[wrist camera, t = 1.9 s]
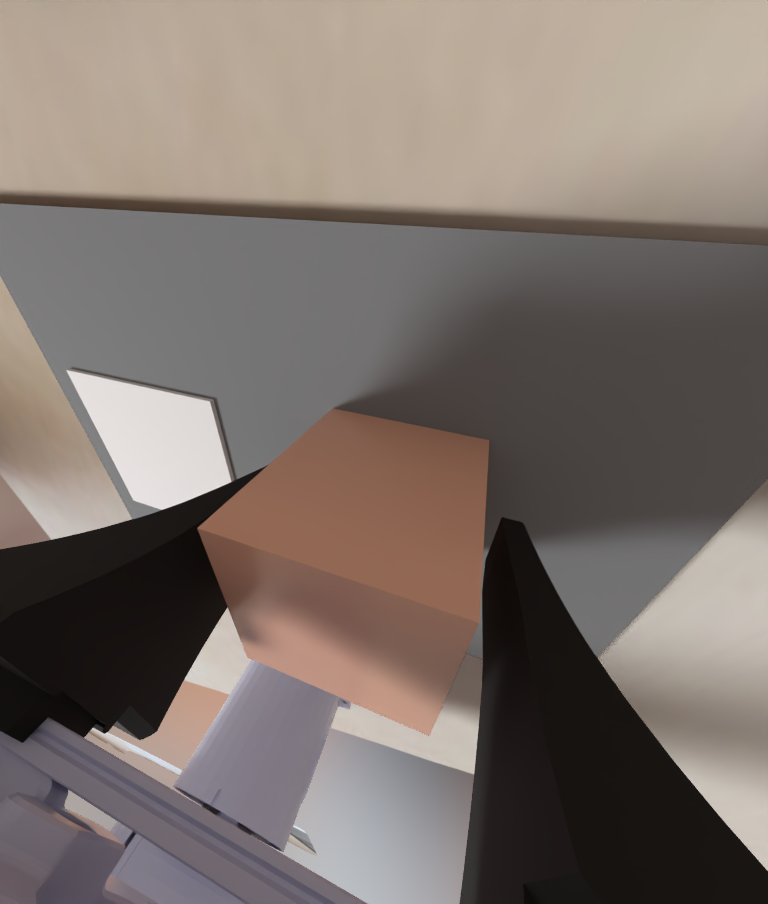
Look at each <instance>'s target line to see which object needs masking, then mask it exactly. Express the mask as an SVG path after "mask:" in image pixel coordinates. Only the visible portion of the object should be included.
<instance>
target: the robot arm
mask: <svg viewBox="0 0 768 904" xmlns="http://www.w3.org/2000/svg"><path fill="white" fill-rule="evenodd" d="M267 466H268V465H267ZM267 466H265V467H263V468H260V469H258V470H256V471H254V472H252V473H250V474H248V475H245V476H243V477H241V478H239V479H237V480H234V481H232V482H230V483H228V484H226V485H223V486H221V487H219V488H217V489H214V490H212V491H209V492H207V493H205V494H202V495H200V496H197V497H195V498H193V499H190V500H188V501H185V502H183V503H180V504H177V505H175V506H172V507H169V508H166V509H163V510H160V511H157V512H155V513H152V514H149V515H145V516H142V517H139V518H136V519H132V520H129V521H125V522H122V523H118V524H115V525H111V526H108V527H104V528H100V529H97V530H92V531H88V532H84V533H80V534H76V535H72V536H67V537H63V538H58V539H54V540H49V541H44V542H39V543H34V544H28V545H23V546H18V547H12V548H6V549H1V550H0V904H367V903H365V902H364V901H362V900H360V899H359V898H357V897H355V896H353V895H351V894H350V893H348V892H346V891H345V890H343V889H341V888H340V887H338V886H336V885H335V884H333V883H331V882H329V881H328V880H326V879H324V878H323V877H321V876H319V875H317V874H316V873H314V872H312V871H311V870H309V869H307V868H305V867H304V866H302V865H300V864H299V863H297V862H295V861H294V860H292V859H290V858H288V857H287V856H285V855H283V854H281V853H280V852H278V851H276V850H275V849H277V850H279V851H282V852H284V849H285V846H286V844H287V841H288V838H289V835H290V833H291V830H292V827H293V824H294V822H295V819H296V816H297V813H298V811H299V808H300V806H301V804H302V802H303V800H304V798H305V796H306V793H307V791H308V788H309V785H310V783H311V780H312V777H313V774H314V771H315V768H316V766H317V763H318V760H319V758H320V755H321V752H322V749H323V747H324V744H325V741H326V738H327V736H328V733H329V730H330V727H331V724H332V722H333V719H334V716H335V713H336V711H337V708H338V706H339V707H342V708H344V709H347V710H348V709H350V706H351V702H350V701H347V700H345V699H343V698H340V697H338V696H336V695H333V694H331V693H329V692H326V691H324V690H322V689H320V688H317V687H315V686H313V685H310V684H308V683H306V682H303V681H301V680H299V679H296V678H294V677H292V676H289V675H287V674H285V673H282V672H280V671H278V670H276V669H273V668H271V667H269V666H266V665H264V664H262V663H259V662H257V661H255V660H251V661H250V663H249V665H248V666H247V668H246V669H245V671H244V673H243V674H242V676H241V678H240V679H239V681H238V682H237V684H236V686H235V687H234V689H233V690H232V692H231V694H230V695H229V697H228V699H227V700H226V702H225V703H224V705H223V707H222V708H221V710H220V712H219V713H218V715H217V716H216V718H215V720H214V721H213V723H212V724H211V726H210V728H209V729H208V731H207V732H206V734H205V736H204V737H203V739H202V740H201V742H200V744H199V745H198V747H197V748H196V750H195V752H194V753H193V755H192V756H191V758H190V760H189V761H188V763H187V765H186V766H185V768H184V769H183V771H182V773H181V774H180V776H179V778H178V779H177V781H176V782H175V784H174V786H173V787H175V788H176V789H177V790H179V791H180V792H181V793H183V794H184V795H186V796H187V797H189V798H190V799H192V800H193V801H195V802H197V803H198V804H200V805H201V806H202V807H201V806H199V805H198V804H196V803H194V802H193V801H191V800H189V799H187V798H186V797H184V796H182V795H181V794H179V793H177V792H175V791H174V790H172V789H170V788H169V787H167V786H165V785H163V784H162V783H160V782H158V781H157V780H155V779H153V778H152V777H150V776H148V775H146V774H145V773H143V772H141V771H140V770H138V769H136V768H134V767H133V766H131V765H129V764H128V763H126V762H124V761H122V760H121V759H119V758H117V757H116V756H114V755H112V754H110V753H109V752H107V751H105V750H104V749H102V748H100V747H98V746H97V745H95V744H93V743H92V742H90V741H88V740H86V739H85V738H84V737H85V736H86V735H87V734H88V732H89V731H90V730H91V729H92V728H93V727H94V728H95V729H97V730H99V731H101V732H102V733H104V734H105V733H107V732H108V731H109V730H110V729H111V727H112V726H116V727H117V728H119V729H121V730H123V731H124V732H126V733H128V734H130V735H131V736H133V737H135V738H137V739H139V740H141V739H144V738H146V737H148V736H151V735H152V734H154V733H155V732H156V731H157V730H158V728H159V726H160V724H161V722H162V720H163V718H164V716H165V714H166V712H167V711H168V708H169V707H170V705H171V703H172V701H173V699H174V697H175V695H176V693H177V692H178V690H179V688H180V686H181V684H182V682H183V681H184V679H185V677H186V675H187V674H188V672H189V670H190V668H191V667H192V665H193V663H194V661H195V660H196V658H197V656H198V654H199V653H200V651H201V649H202V647H203V646H204V644H205V642H206V641H207V639H208V637H209V636H210V634H211V633H212V631H213V629H214V628H215V626H216V624H217V623H218V621H219V620H220V618H221V616H222V615H223V613H224V612H225V610H226V609H227V607H228V606H227V604H226V601H225V599H224V596H223V593H222V591H221V588H220V586H219V583H218V581H217V578H216V575H215V573H214V570H213V568H212V565H211V563H210V560H209V557H208V555H207V552H206V550H205V547H204V545H203V542H202V539H201V537H200V534H199V532H198V529H197V528H198V527H199V526H200V525H201V524H202V523H204V522H205V521H206V520H207V519H208V518H209V517H210V516H211V515H213V514H214V513H215V512H216V511H217V510H218V509H219V508H220V507H222V506H223V505H224V504H225V503H226V502H227V501H228V500H230V499H231V498H232V497H233V496H234V495H235V494H236V493H237V492H239V491H240V490H241V489H242V488H243V487H244V486H245V485H246V484H248V483H249V482H250V481H251V480H252V479H253V478H254V477H256V476H257V475H258V474H259V473H260V472H261V471H262V470H263V469H265V468H266V467H267ZM482 643H483V675H482V694H481V706H480V719H479V730H478V741H477V752H476V763H475V773H474V783H473V793H472V803H471V813H470V822H469V830H468V840H467V848H466V856H465V865H464V873H463V882H462V890H461V898H460V904H768V871H767V870H766V869H765V868H764V867H763V865H762V864H761V863H760V862H759V861H758V860H757V859H756V857H755V856H754V855H753V854H752V853H751V852H750V851H749V850H748V848H747V847H746V846H745V845H744V844H743V843H742V842H741V840H740V839H739V838H738V837H737V836H736V835H735V834H734V833H733V831H732V830H731V829H730V828H729V827H728V826H727V825H726V823H725V822H724V821H723V820H722V819H721V818H720V816H719V815H718V814H717V813H716V812H715V810H714V809H713V808H712V807H711V806H710V804H709V803H708V802H707V801H706V800H705V798H704V797H703V796H702V795H701V794H700V792H699V791H698V790H697V789H696V787H695V786H694V785H693V784H692V783H691V781H690V780H689V779H688V778H687V777H686V775H685V774H684V773H683V772H682V771H681V769H680V768H679V767H678V766H677V765H676V763H675V762H674V761H673V760H672V758H671V757H670V756H669V754H668V753H667V752H666V751H665V749H664V748H663V747H662V745H661V744H660V743H659V741H658V740H657V739H656V738H655V736H654V735H653V734H652V732H651V731H650V730H649V728H648V727H647V726H646V725H645V723H644V722H643V721H642V719H641V718H640V717H639V715H638V714H637V713H636V712H635V710H634V709H633V708H632V706H631V705H630V704H629V702H628V701H627V700H626V698H625V697H624V696H623V694H622V693H621V691H620V690H619V689H618V687H617V686H616V684H615V683H614V682H613V680H612V679H611V677H610V676H609V675H608V673H607V672H606V670H605V669H604V667H603V666H602V664H601V663H600V661H599V660H598V658H597V657H596V655H595V654H594V652H593V651H592V649H591V648H590V646H589V645H588V643H587V642H586V640H585V638H584V637H583V635H582V634H581V632H580V630H579V629H578V627H577V626H576V624H575V622H574V620H573V619H572V617H571V615H570V614H569V612H568V610H567V609H566V607H565V605H564V603H563V602H562V600H561V598H560V596H559V594H558V593H557V591H556V589H555V587H554V585H553V583H552V581H551V579H550V577H549V576H548V574H547V572H546V570H545V568H544V566H543V564H542V562H541V560H540V558H539V555H538V553H537V551H536V549H535V547H534V545H533V543H532V540H531V538H530V536H529V534H528V531H527V529H526V527H525V525H524V523H523V522H520V521H516V520H512V519H508V518H504V517H502V518H501V520H500V523H499V526H498V528H497V531H496V533H495V536H494V539H493V541H492V544H491V547H490V549H489V552H488V554H487V557H486V560H485V568H484V577H483V587H482ZM68 789H69V790H70V791H72V792H73V793H75V794H76V795H78V796H79V797H81V798H82V799H84V800H86V801H87V802H89V803H90V804H92V805H93V806H95V807H97V808H98V809H100V810H101V811H103V812H104V813H106V814H107V815H109V816H111V817H112V818H114V819H115V820H117V821H118V822H117V823H116V824H115V826H114V827H113V828H112V829H111V831H108V830H107V829H105V828H104V827H102V826H100V825H99V824H97V823H95V822H93V821H91V820H89V819H87V818H85V817H82V816H81V815H78V814H76V813H74V812H72V811H69V810H67V809H65V807H64V804H65V800H66V798H67V795H68ZM252 836H253V837H252ZM254 837H255V838H254ZM256 838H257V839H256ZM259 840H260V841H259ZM261 841H262V842H261ZM263 842H264V843H266V844H268V845H269V846H268V845H266V844H264V843H263ZM270 846H272V847H273V848H275V849H273V848H271V847H270Z"/></svg>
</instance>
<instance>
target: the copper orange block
mask: <svg viewBox="0 0 768 904" xmlns="http://www.w3.org/2000/svg"><path fill="white" fill-rule="evenodd" d="M488 456H489V440H486V439H481V438H476V437H471V436H466V435H461V434H457V433H452V432H447V431H442V430H437V429H432V428H427V427H422V426H417V425H412V424H407V423H403V422H398V421H393V420H388V419H383V418H378V417H373V416H368V415H363V414H358V413H353V412H349V411H344V410H339V409H334V408H332V409H331V410H330V411H329V412H328V413H327V414H326V415H324V416H323V417H322V418H321V419H320V420H319V421H318V422H317V423H315V424H314V425H313V426H312V427H311V428H310V429H309V430H307V431H306V432H305V433H304V434H303V435H302V436H301V437H300V438H298V439H297V440H296V441H295V442H294V443H293V444H292V445H291V446H289V447H288V448H287V449H286V450H285V451H284V452H283V453H281V454H280V455H279V456H278V457H277V458H276V459H275V460H274V461H272V462H271V463H270V464H269V465H268V466H267V467H266V468H265V469H263V470H262V471H261V472H260V473H259V474H258V475H257V476H256V477H254V478H253V479H252V480H251V481H250V482H249V483H248V484H246V485H245V486H244V487H243V488H242V489H241V490H240V491H239V492H237V493H236V494H235V495H234V496H233V497H232V498H231V499H230V500H228V501H227V502H226V503H225V504H224V505H223V506H222V507H220V508H219V509H218V510H217V511H216V512H215V513H214V514H213V515H211V516H210V517H209V518H208V519H207V520H206V521H205V522H204V523H202V524H201V525H200V526H199V527H198V528H197V529H198V532H199V534H200V537H201V539H202V542H203V545H204V547H205V550H206V552H207V555H208V557H209V560H210V563H211V565H212V568H213V570H214V573H215V575H216V578H217V581H218V583H219V586H220V588H221V591H222V593H223V596H224V599H225V601H226V604H227V606H228V609H229V611H230V614H231V617H232V619H233V622H234V624H235V627H236V629H237V632H238V635H239V637H240V640H241V642H242V645H243V647H244V650H245V653H246V655H247V657H248V658H250V659H252V660H255V661H257V662H259V663H262V664H264V665H266V666H269V667H271V668H273V669H276V670H278V671H280V672H282V673H285V674H287V675H289V676H292V677H294V678H296V679H299V680H301V681H303V682H306V683H308V684H310V685H313V686H315V687H317V688H320V689H322V690H324V691H326V692H329V693H331V694H333V695H336V696H338V697H340V698H343V699H345V700H347V701H350V702H352V703H354V704H357V705H359V706H361V707H364V708H366V709H368V710H370V711H373V712H375V713H377V714H380V715H382V716H384V717H387V718H389V719H391V720H394V721H396V722H398V723H401V724H403V725H405V726H408V727H410V728H412V729H414V730H417V731H419V732H421V733H424V734H426V735H428V736H429V735H430V733H431V731H432V729H433V726H434V724H435V722H436V720H437V717H438V715H439V713H440V711H441V708H442V706H443V704H444V702H445V699H446V697H447V695H448V693H449V690H450V688H451V686H452V683H453V681H454V679H455V677H456V674H457V672H458V670H459V668H460V665H461V663H462V661H463V659H464V656H465V654H466V652H467V650H468V647H469V645H470V643H471V641H472V638H473V636H474V634H475V632H476V629H477V627H478V625H479V620H480V602H481V584H482V566H483V547H484V529H485V511H486V493H487V474H488Z"/></svg>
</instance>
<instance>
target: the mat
mask: <svg viewBox="0 0 768 904" xmlns="http://www.w3.org/2000/svg"><path fill="white" fill-rule="evenodd" d="M0 276H1V278H2V279H3V281H4V283H5V285H6V287H7V289H8V291H9V292H10V294H11V296H12V298H13V300H14V302H15V303H16V305H17V307H18V309H19V311H20V313H21V315H22V316H23V318H24V320H25V322H26V324H27V326H28V327H29V329H30V331H31V333H32V335H33V337H34V338H35V340H36V342H37V344H38V346H39V348H40V350H41V351H42V353H43V355H44V357H45V359H46V361H47V362H48V364H49V366H50V368H51V370H52V372H53V374H54V375H55V377H56V379H57V381H58V383H59V385H60V386H61V388H62V390H63V392H64V394H65V396H66V397H67V399H68V401H69V403H70V405H71V407H72V409H73V410H74V412H75V414H76V416H77V418H78V420H79V421H80V423H81V425H82V427H83V429H84V431H85V433H86V434H87V436H88V438H89V440H90V442H91V444H92V445H93V447H94V449H95V451H96V453H97V455H98V456H99V458H100V460H101V462H102V464H103V466H104V468H105V469H106V471H107V473H108V475H109V477H110V479H111V480H112V482H113V484H114V486H115V488H116V490H117V492H118V493H119V495H120V497H121V499H122V501H123V503H124V504H125V506H126V508H127V510H128V512H129V514H130V515H131V517H132V519H136V518H139V517H142V516H145V515H149V514H152V513H155V512H157V511H160V510H163V509H166V508H169V507H172V506H175V505H177V504H180V503H183V502H185V501H188V500H190V499H193V498H195V497H197V496H200V495H202V494H205V493H207V492H209V491H212V490H214V489H217V488H219V487H221V486H223V485H226V484H228V483H230V482H232V481H234V480H237V479H239V478H241V477H243V476H245V475H248V474H250V473H252V472H254V471H256V470H258V469H260V468H263V467H265V466H267V465H269V464H270V463H271V462H272V461H274V460H275V459H276V458H277V457H278V456H279V455H280V454H281V453H283V452H284V451H285V450H286V449H287V448H288V447H289V446H291V445H292V444H293V443H294V442H295V441H296V440H297V439H298V438H300V437H301V436H302V435H303V434H304V433H305V432H306V431H307V430H309V429H310V428H311V427H312V426H313V425H314V424H315V423H317V422H318V421H319V420H320V419H321V418H322V417H323V416H324V415H326V414H327V413H328V412H329V411H330V410H331V409H332V408H334V409H339V410H344V411H349V412H353V413H358V414H363V415H368V416H373V417H378V418H383V419H388V420H393V421H398V422H403V423H407V424H412V425H417V426H422V427H427V428H432V429H437V430H442V431H447V432H452V433H457V434H461V435H466V436H471V437H476V438H481V439H486V440H489V456H488V474H487V493H486V511H485V529H484V547H483V566H482V584H481V602H480V620H479V625H478V627H477V629H476V632H475V634H474V636H473V638H472V641H471V643H470V645H469V647H468V650H467V652H466V654H469V655H471V656H474V657H477V658H480V659H482V660H483V643H482V587H483V577H484V568H485V560H486V557H487V554H488V552H489V549H490V547H491V544H492V541H493V539H494V536H495V533H496V531H497V528H498V526H499V523H500V520H501V518H502V517H504V518H508V519H512V520H516V521H520V522H523V523H524V525H525V527H526V529H527V531H528V534H529V536H530V538H531V540H532V543H533V545H534V547H535V549H536V551H537V553H538V555H539V558H540V560H541V562H542V564H543V566H544V568H545V570H546V572H547V574H548V576H549V577H550V579H551V581H552V583H553V585H554V587H555V589H556V591H557V593H558V594H559V596H560V598H561V600H562V602H563V603H564V605H565V607H566V609H567V610H568V612H569V614H570V615H571V617H572V619H573V620H574V622H575V624H576V626H577V627H578V629H579V630H580V632H581V634H582V635H583V637H584V638H585V640H586V642H587V643H588V645H589V646H590V648H591V649H592V651H593V652H594V654H595V655H596V657H598V656H599V655H600V654H601V653H602V652H603V651H604V650H605V648H606V647H607V646H608V645H609V644H610V643H611V642H612V641H613V640H614V639H615V638H616V637H617V636H618V635H619V634H620V633H621V632H622V631H623V630H624V629H625V628H626V626H627V625H628V624H629V623H630V622H631V621H632V620H633V619H634V618H635V617H636V616H637V615H638V614H639V613H640V612H641V611H642V610H643V609H644V608H645V607H646V605H647V604H648V603H649V602H650V601H651V600H652V599H653V598H654V597H655V596H656V595H657V594H658V593H659V592H660V591H661V590H662V589H663V588H664V587H665V586H666V585H667V583H668V582H669V581H670V580H671V579H672V578H673V577H674V576H675V575H676V574H677V573H678V572H679V571H680V570H681V569H682V568H683V567H684V566H685V565H686V564H687V563H688V561H689V560H690V559H691V558H692V557H693V556H694V555H695V554H696V553H697V552H698V551H699V550H700V549H701V548H702V547H703V546H704V545H705V544H706V543H707V542H708V541H709V539H710V538H711V537H712V536H713V535H714V534H715V533H716V532H717V531H718V530H719V529H720V528H721V527H722V526H723V525H724V524H725V523H726V522H727V521H728V520H729V519H730V517H731V516H732V515H733V514H734V513H735V512H736V511H737V510H738V509H739V508H740V507H741V506H742V505H743V504H744V503H745V502H746V501H747V500H748V499H749V498H750V497H751V495H752V494H753V493H754V492H755V491H756V490H757V489H758V488H759V487H760V486H761V485H762V484H763V483H764V482H765V481H766V480H767V479H768V245H752V244H733V243H715V242H697V241H679V240H660V239H642V238H624V237H605V236H587V235H569V234H550V233H532V232H514V231H496V230H477V229H459V228H441V227H422V226H404V225H386V224H367V223H349V222H331V221H313V220H294V219H276V218H258V217H239V216H221V215H203V214H184V213H166V212H148V211H130V210H111V209H93V208H75V207H56V206H38V205H20V204H1V203H0Z"/></svg>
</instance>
